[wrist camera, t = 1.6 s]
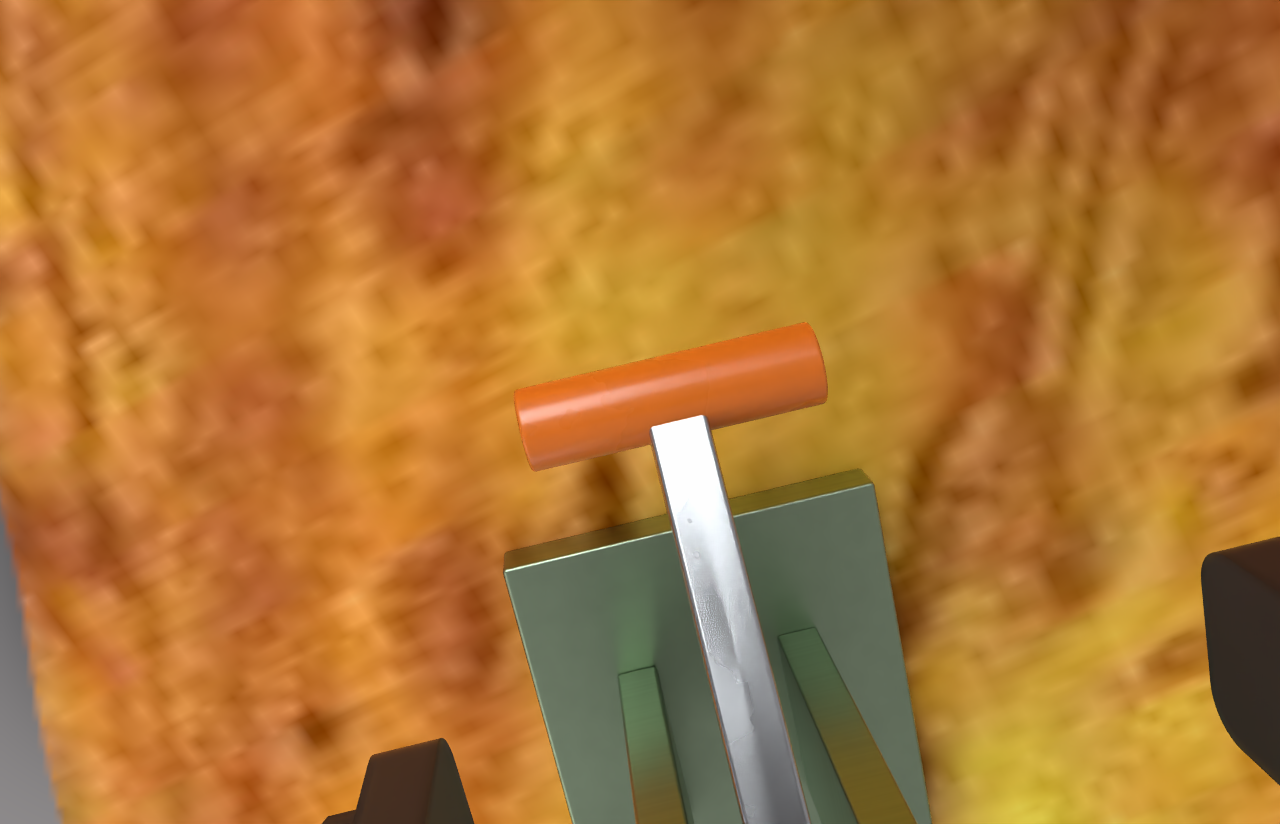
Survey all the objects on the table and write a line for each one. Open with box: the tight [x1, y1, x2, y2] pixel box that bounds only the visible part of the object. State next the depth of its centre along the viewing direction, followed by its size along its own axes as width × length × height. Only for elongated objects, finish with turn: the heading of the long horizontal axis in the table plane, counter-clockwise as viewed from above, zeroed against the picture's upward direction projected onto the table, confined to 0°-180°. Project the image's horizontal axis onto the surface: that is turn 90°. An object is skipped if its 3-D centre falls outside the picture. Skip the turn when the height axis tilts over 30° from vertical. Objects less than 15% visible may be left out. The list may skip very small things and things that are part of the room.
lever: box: [514, 322, 828, 824], centre depth 20 cm, size 14×6×2 cm
